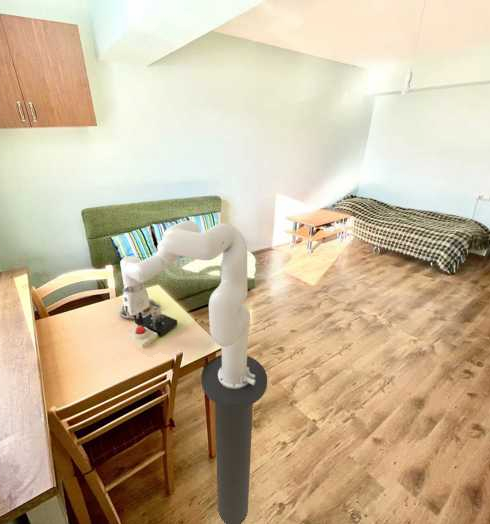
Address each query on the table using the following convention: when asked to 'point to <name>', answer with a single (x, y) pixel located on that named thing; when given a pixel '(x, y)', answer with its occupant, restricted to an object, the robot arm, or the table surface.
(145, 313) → the salad plate
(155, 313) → the stove knob
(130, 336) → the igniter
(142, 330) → the igniter button
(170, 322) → the hob panel
